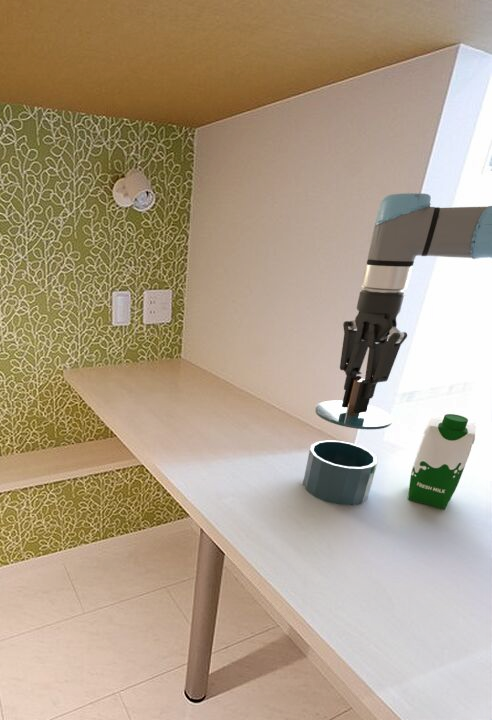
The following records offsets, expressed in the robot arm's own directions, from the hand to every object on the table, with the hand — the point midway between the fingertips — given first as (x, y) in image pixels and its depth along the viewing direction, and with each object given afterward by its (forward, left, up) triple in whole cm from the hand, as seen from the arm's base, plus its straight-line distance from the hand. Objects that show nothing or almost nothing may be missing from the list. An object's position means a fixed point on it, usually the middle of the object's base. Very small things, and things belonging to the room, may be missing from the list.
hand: (353, 409), depth 90 cm
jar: (0, 0, -20) cm, 20 cm away
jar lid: (0, 0, -1) cm, 1 cm away
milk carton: (-9, -18, -20) cm, 29 cm away
